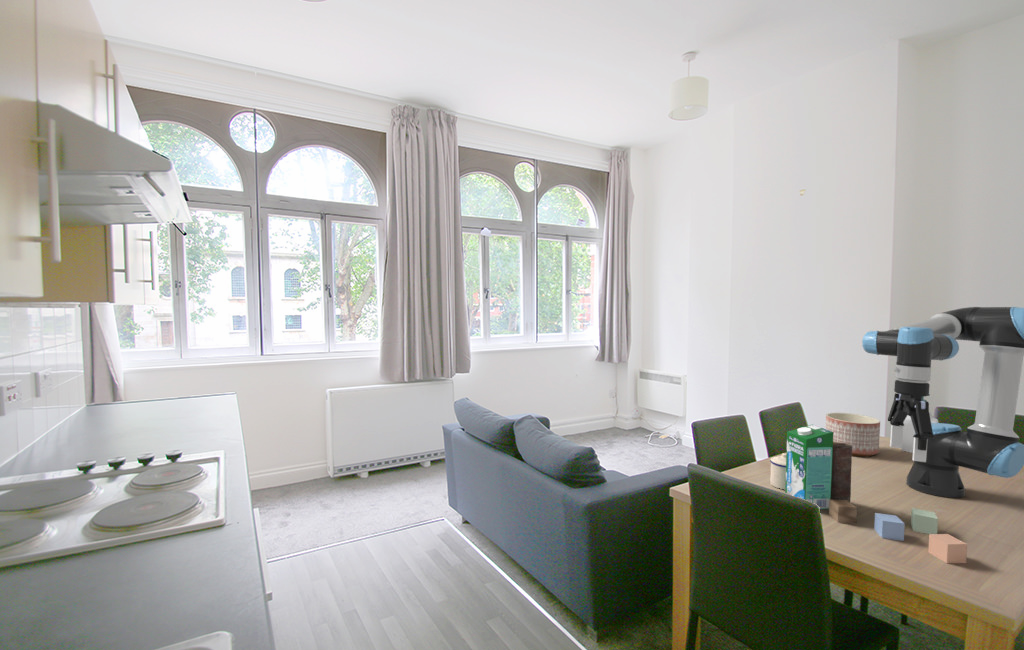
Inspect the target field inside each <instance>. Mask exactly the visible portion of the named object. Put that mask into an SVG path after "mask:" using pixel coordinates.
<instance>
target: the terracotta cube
mask: <svg viewBox="0 0 1024 650" xmlns="http://www.w3.org/2000/svg"><path fill="white" fill-rule="evenodd" d="M928 535H929V536H928V554H930V555H932V556H934V557H935V558H938V559H939V560H940V561H942V562H944V563H946V564H967V553H968V543H966V542H964V541H962V540H960V539H959V538H956V537H954V536H952V535H951V534H948V533H937V534H928Z"/></svg>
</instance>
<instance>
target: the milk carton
mask: <svg viewBox="0 0 1024 650" xmlns="http://www.w3.org/2000/svg"><path fill="white" fill-rule="evenodd" d="M786 454H787V455H786V484H785V490H784V491H785V492H784V494H785V493H787V494H790V495H792V496H795V497H799V498H802V499H805V500H807V501H810V502H812V503H815V504H817V505H818V506H819V507H820V509H819V510H829V500H830V499H831V482H832V456H833V432H832V431H829V430H826V428H823V427H821V426H818V425H815V424H809V425H805V426H801V427H799V428H796V429H795V428H794V429H792V430H788V431H787V432H786Z"/></svg>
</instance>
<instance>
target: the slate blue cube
mask: <svg viewBox="0 0 1024 650" xmlns="http://www.w3.org/2000/svg"><path fill="white" fill-rule="evenodd" d="M905 524H906V523H905V522H904V521H902V519H901V518H900V517H898V516H897V515H894V514H885V513H880V512H879V513H877V512H875V513H874V531H875V532H876V533H877V534H878V536H879V537H880V538H882V539H888V540H892V541H893V540H894V541H902V542H904V541H905V527H906V525H905Z"/></svg>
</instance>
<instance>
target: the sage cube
mask: <svg viewBox="0 0 1024 650" xmlns="http://www.w3.org/2000/svg"><path fill="white" fill-rule="evenodd" d="M910 513H911V514H910V525H911V529H912V530H913V532H915V533H916V532H917V533H921V534H927V535H929V534H938V523H939V518H938V516H937V514H936V512H935V511H930V510H925V509H921V508H920V509H919V508H915V507H911V512H910Z"/></svg>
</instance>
